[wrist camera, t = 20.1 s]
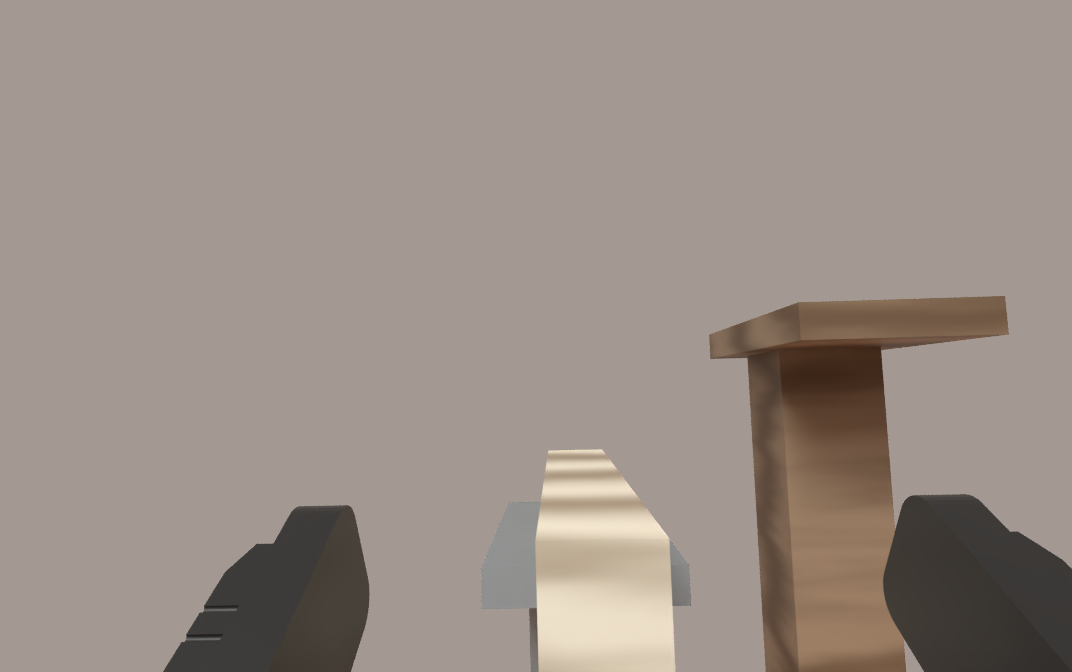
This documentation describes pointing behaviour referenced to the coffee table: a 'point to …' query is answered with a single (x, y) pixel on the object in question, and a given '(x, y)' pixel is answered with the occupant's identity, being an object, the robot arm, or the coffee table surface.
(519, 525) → the low stand
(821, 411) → the tall stand
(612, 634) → the ash leg
